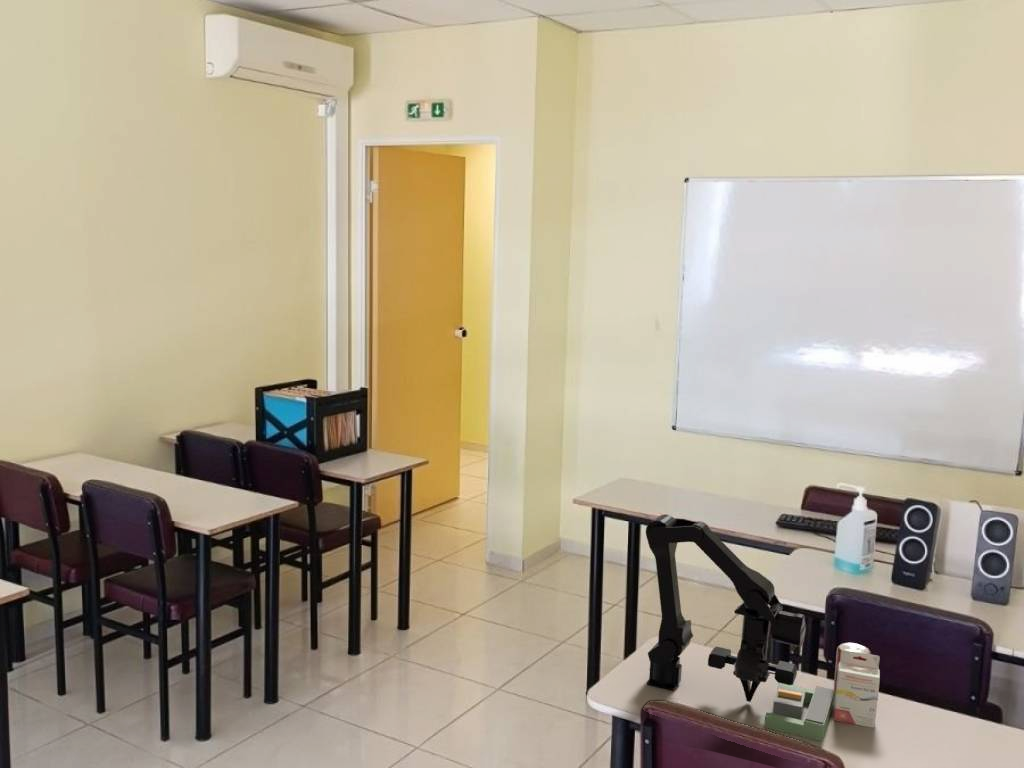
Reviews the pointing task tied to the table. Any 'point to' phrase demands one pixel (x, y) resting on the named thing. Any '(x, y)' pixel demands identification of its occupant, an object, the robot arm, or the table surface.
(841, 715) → the ink cartridge box
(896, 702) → the table surface
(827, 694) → the green grey u-shaped block
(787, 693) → the grey block orange top
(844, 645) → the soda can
